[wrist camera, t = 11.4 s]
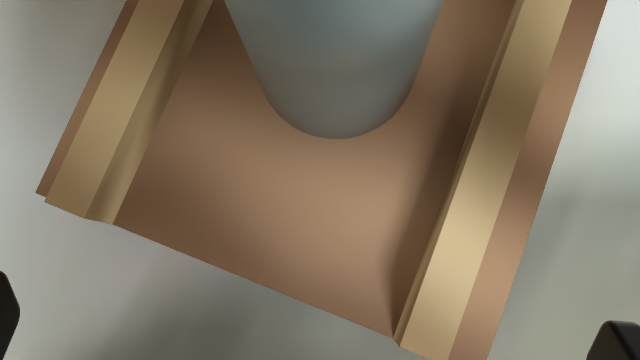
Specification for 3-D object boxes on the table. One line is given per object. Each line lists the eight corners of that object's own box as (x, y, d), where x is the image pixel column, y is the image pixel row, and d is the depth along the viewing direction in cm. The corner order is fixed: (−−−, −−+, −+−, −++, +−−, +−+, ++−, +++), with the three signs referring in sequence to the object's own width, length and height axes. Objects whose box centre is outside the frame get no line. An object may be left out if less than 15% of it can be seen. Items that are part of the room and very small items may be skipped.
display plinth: (465, 362, 17) (500, 388, 13) (68, 201, 18) (-2, 182, 15) (581, 23, 19) (640, -39, 15) (208, -102, 20) (178, -187, 16)
